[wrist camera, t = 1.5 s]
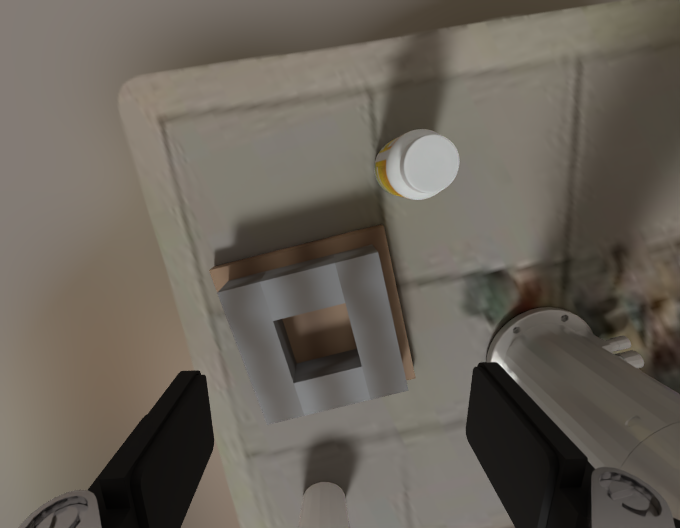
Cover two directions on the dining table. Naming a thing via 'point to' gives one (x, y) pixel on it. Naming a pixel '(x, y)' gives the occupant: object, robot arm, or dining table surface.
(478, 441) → the robot arm
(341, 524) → the white and grey cylinder
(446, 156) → the supplement bottle
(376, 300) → the holder
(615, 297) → the dining table surface
